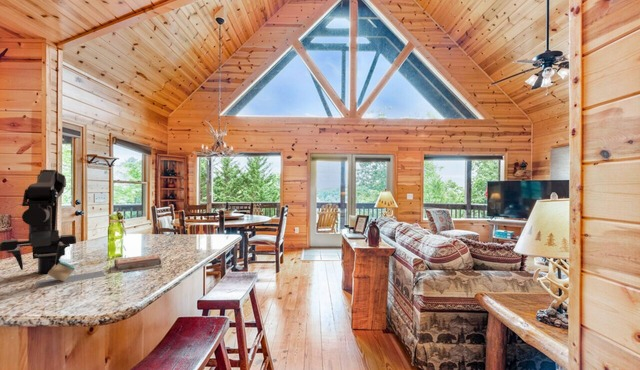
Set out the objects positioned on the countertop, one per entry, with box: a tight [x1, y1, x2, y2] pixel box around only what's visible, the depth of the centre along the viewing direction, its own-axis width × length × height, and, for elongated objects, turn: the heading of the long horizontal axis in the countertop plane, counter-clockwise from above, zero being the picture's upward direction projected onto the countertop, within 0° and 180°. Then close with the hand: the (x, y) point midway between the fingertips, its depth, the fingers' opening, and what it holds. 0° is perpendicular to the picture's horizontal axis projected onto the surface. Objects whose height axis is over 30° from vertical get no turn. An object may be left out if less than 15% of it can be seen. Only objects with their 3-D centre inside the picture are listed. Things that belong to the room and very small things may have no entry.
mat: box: [35, 270, 107, 289], centre depth 108 cm, size 19×9×1 cm, turn 136°
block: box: [47, 259, 76, 282], centre depth 105 cm, size 5×5×5 cm
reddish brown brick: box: [110, 254, 163, 274], centre depth 124 cm, size 18×5×10 cm
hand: (39, 267), depth 101 cm, fingers open, 8 cm apart
